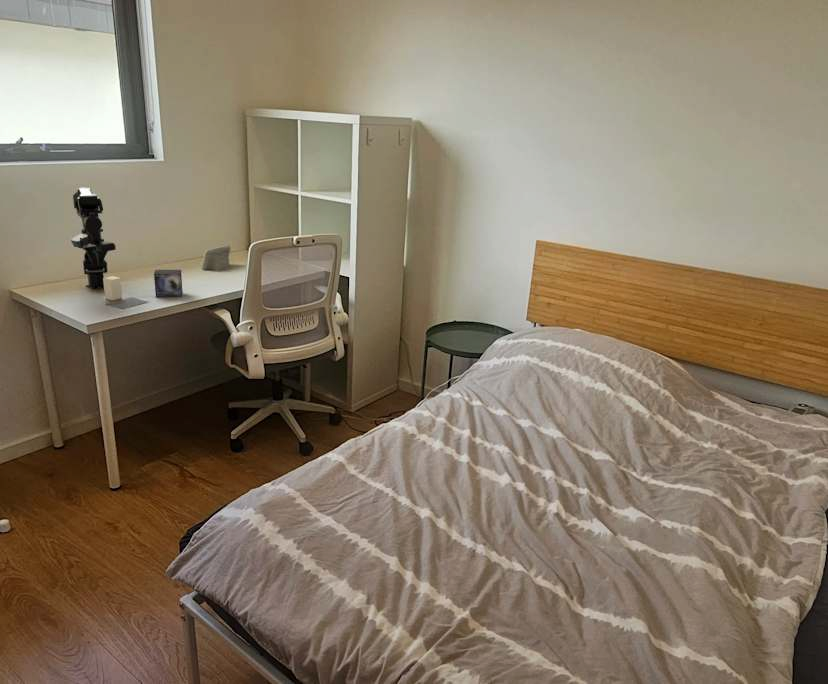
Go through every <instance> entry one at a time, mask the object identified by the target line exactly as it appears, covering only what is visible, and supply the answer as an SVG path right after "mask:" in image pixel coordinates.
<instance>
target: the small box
mask: <svg viewBox="0 0 828 684" xmlns="http://www.w3.org/2000/svg"><path fill="white" fill-rule="evenodd" d="M153 278H154V291H155V293H154V294H155V298H170V297H171V298H182V297H183V293H184V291H183V279H182V269H155V270H154V273H153Z"/></svg>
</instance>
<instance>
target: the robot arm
mask: <svg viewBox="0 0 828 684" xmlns="http://www.w3.org/2000/svg"><path fill="white" fill-rule="evenodd" d="M91 189H92V188H89V187H79V188H77V189H76V192H75V193H73V195H72V201H73V202H72V203H73V208H74V209H75V210H76V214H77V215H78V217H80V218H81V222H82V228H81V230H80V231H81V233H80V234H77V235H75V236H74V237H72V238H70V241H71V244H72V245H73V247H74V248H79V249H82V250H83V251H84V252H85V253H84V254H83V255H84V256H83V260H82V268H83V273H84V275H87V281H88V284H86V285H85V287H87V288H90V289H94V290H97V289H100V288H104V283H103V278H105V276H104V274H107V273H108V272H109V271H108V262H107V261H106V259H105V257H106V256H107V253H108V252H111V251H115V250H116V249H117V248H116V244H115V243H114V242H111V241H105V239H104V238H102V232H104V230H103V228H102V227H103V223H102V222H103V221H102V220H101V219H100V215H99V214H103V212H104V206H103V202H102V200H101V198H100V197H98V195H97V194H94V193H93V192H92V190H91Z"/></svg>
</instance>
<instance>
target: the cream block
mask: <svg viewBox="0 0 828 684" xmlns="http://www.w3.org/2000/svg"><path fill="white" fill-rule="evenodd" d="M121 282H122V281H121V277H118V276H111V275H110V276H107V277H104V278H103V283H104V287H103V289H104V298H105V299H104V300H105V301H109V302H114V301H118V300H122V299H123V291H122V283H121Z"/></svg>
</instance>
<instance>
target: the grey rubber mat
mask: <svg viewBox="0 0 828 684" xmlns="http://www.w3.org/2000/svg"><path fill="white" fill-rule="evenodd" d="M147 303H148V301H147V300H143V299H140V298H136V297H133V296H131V297H126V298H122V300H118V301H114V302H112V301H109V302H108V303H105V305H107V306H111V307H114V308H117V309H121V310H124V309H128V308H132V307H136V306H140V305H143V304H147Z"/></svg>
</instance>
